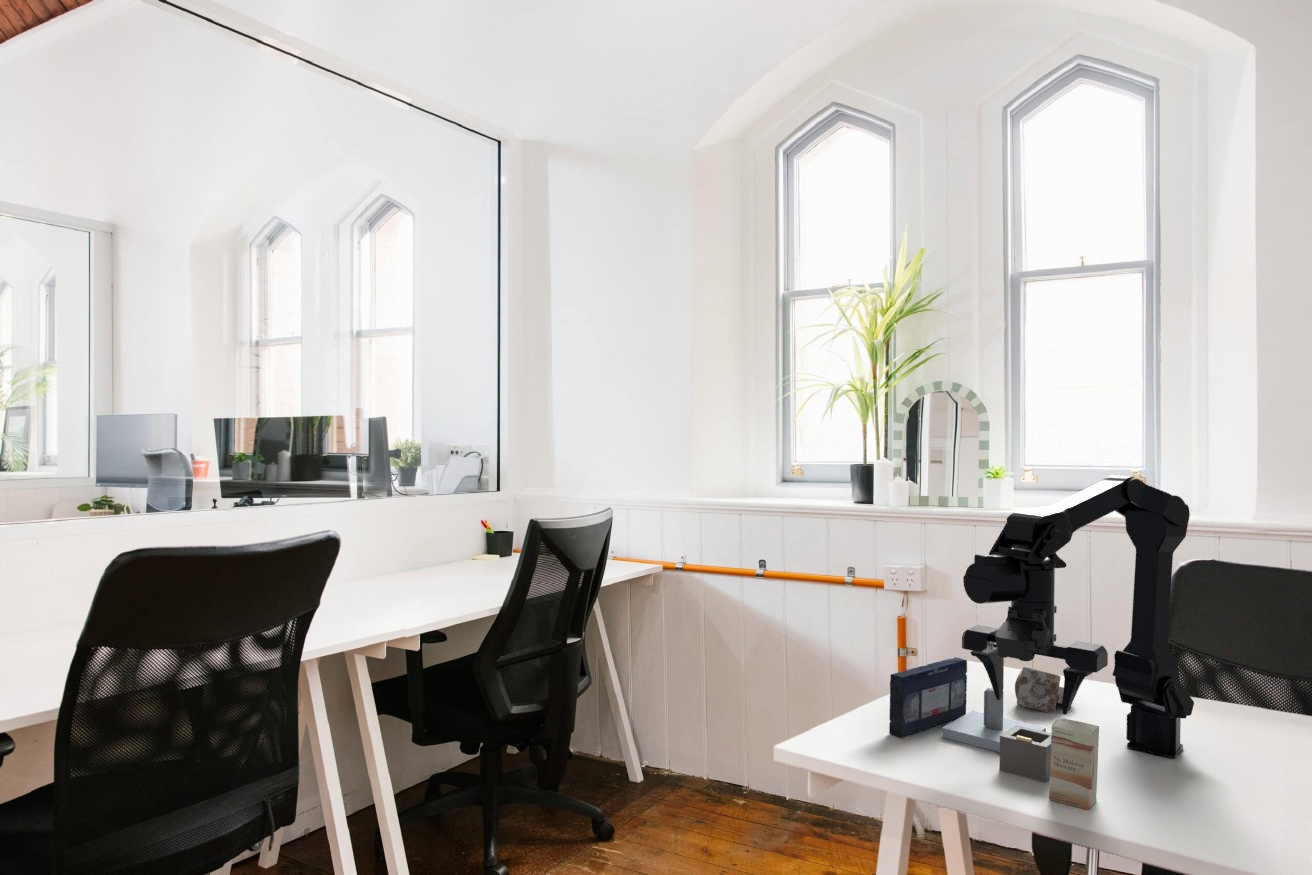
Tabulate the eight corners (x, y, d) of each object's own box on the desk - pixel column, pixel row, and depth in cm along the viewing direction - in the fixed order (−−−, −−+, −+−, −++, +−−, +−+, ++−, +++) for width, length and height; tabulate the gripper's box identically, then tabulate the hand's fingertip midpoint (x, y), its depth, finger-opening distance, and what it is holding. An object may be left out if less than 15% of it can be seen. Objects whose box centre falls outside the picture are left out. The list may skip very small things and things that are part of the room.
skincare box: (1047, 800, 111) (1048, 724, 112) (1056, 789, 115) (1057, 716, 115) (1090, 811, 108) (1092, 733, 108) (1098, 800, 112) (1099, 725, 112)
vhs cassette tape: (901, 739, 134) (901, 677, 134) (886, 733, 136) (886, 672, 136) (969, 718, 144) (970, 660, 144) (954, 713, 147) (955, 656, 147)
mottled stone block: (1057, 711, 157) (1082, 721, 147) (997, 696, 157) (1017, 704, 148) (1063, 675, 158) (1088, 682, 148) (1003, 660, 158) (1024, 666, 149)
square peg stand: (1045, 736, 135) (1046, 690, 135) (1018, 756, 127) (1019, 707, 127) (972, 719, 144) (972, 675, 144) (942, 736, 135) (942, 690, 135)
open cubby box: (1060, 769, 122) (1061, 732, 122) (1045, 782, 117) (1046, 744, 117) (1015, 757, 126) (1016, 722, 126) (999, 769, 121) (999, 732, 121)
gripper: (946, 597, 122) (945, 704, 122) (1085, 617, 109) (1083, 736, 109) (977, 588, 130) (976, 688, 130) (1109, 605, 118) (1108, 716, 118)
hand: (1031, 706), depth 122 cm, fingers open, 9 cm apart
